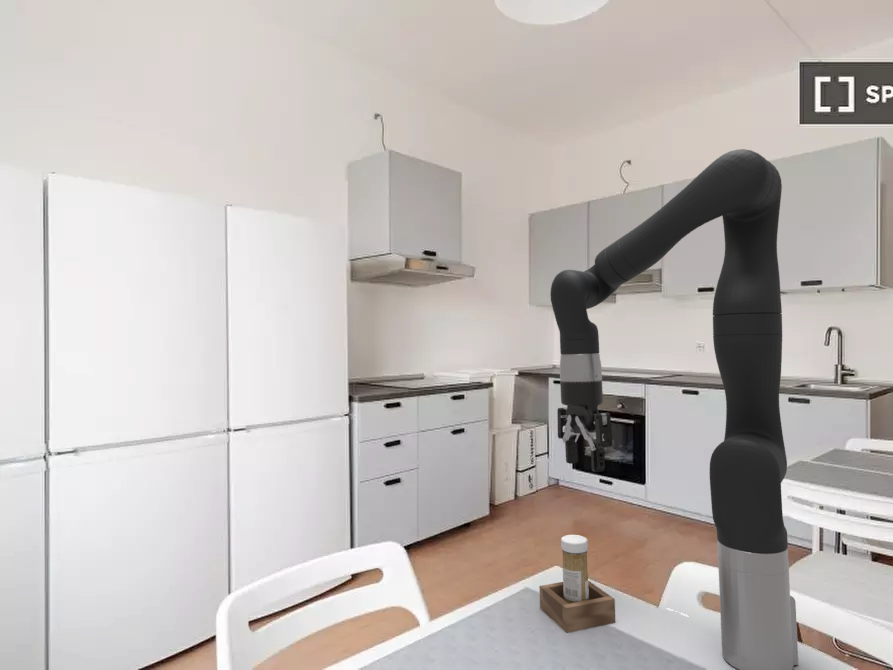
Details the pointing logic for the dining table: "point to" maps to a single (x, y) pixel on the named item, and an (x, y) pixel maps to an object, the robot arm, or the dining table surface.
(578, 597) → the sprinkles bottle
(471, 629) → the dining table surface
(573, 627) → the frame
